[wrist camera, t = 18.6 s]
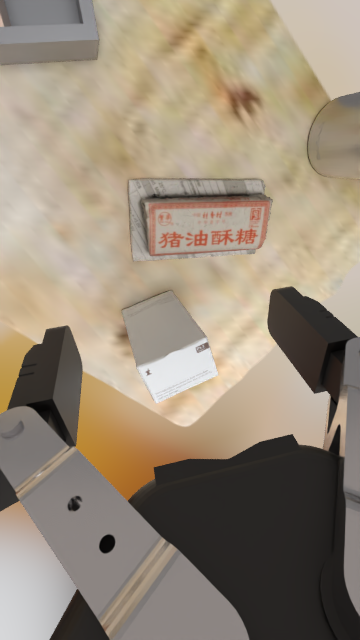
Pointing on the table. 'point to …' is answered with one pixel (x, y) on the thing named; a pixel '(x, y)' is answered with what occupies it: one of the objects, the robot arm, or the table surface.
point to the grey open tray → (47, 31)
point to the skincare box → (168, 346)
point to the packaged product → (196, 217)
